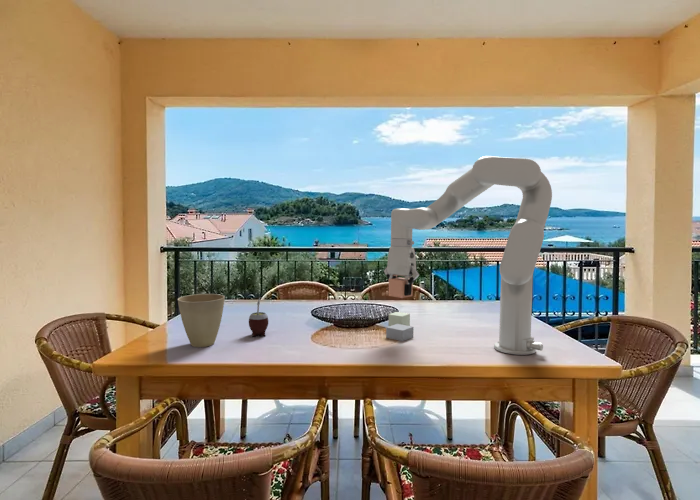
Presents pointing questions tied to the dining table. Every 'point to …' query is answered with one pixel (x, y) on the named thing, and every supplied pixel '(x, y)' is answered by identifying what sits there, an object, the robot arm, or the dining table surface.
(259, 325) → the mate gourd
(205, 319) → the plant pot
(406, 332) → the slate-grey block
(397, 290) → the terracotta cube
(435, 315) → the dining table surface
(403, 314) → the sage cube
